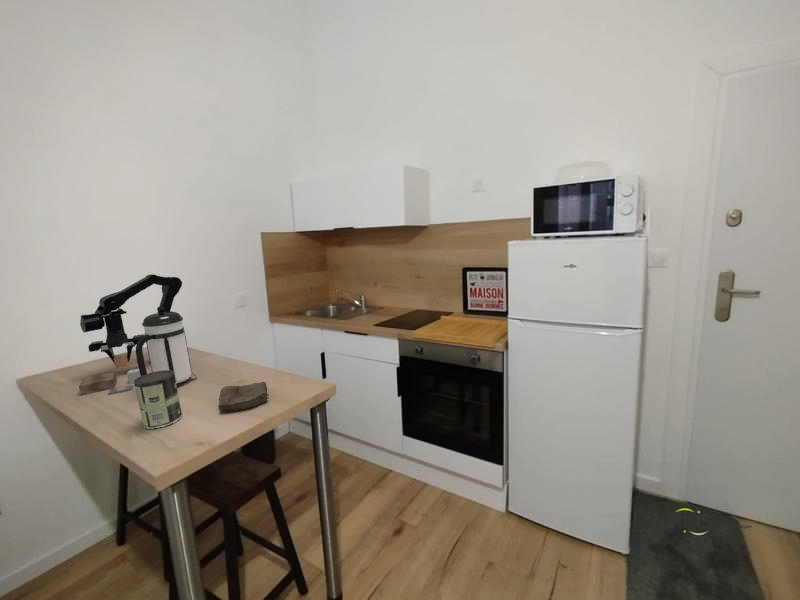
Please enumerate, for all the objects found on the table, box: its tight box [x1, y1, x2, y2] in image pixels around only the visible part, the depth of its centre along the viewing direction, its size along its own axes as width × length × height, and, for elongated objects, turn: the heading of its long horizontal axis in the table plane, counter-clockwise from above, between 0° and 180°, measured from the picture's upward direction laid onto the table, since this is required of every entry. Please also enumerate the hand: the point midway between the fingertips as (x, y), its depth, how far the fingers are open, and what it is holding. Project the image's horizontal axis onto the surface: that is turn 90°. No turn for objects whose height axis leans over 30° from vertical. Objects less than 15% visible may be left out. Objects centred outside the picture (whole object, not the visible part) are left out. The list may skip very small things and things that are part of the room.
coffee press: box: [135, 305, 197, 386], centre depth 140 cm, size 17×16×30 cm
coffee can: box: [133, 370, 183, 430], centre depth 113 cm, size 10×10×14 cm
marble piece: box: [218, 381, 269, 414], centre depth 124 cm, size 17×15×4 cm
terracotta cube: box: [113, 353, 131, 369], centre depth 160 cm, size 4×4×4 cm
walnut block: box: [78, 371, 118, 396], centre depth 145 cm, size 10×10×4 cm
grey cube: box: [126, 368, 141, 385], centre depth 150 cm, size 4×4×4 cm
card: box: [107, 384, 134, 396], centre depth 141 cm, size 7×5×1 cm
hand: (122, 362), depth 160 cm, fingers closed on terracotta cube, 4 cm apart
